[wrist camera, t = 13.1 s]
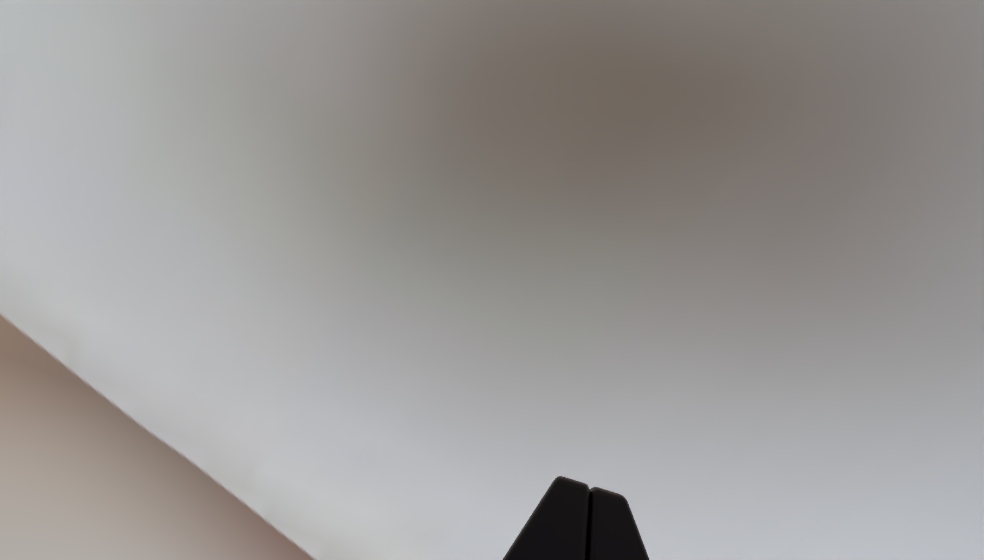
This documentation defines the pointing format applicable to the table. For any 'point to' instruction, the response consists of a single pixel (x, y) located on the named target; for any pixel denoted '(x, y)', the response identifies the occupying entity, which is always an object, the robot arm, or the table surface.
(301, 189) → the table surface
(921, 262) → the table surface
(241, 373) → the table surface
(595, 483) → the table surface
